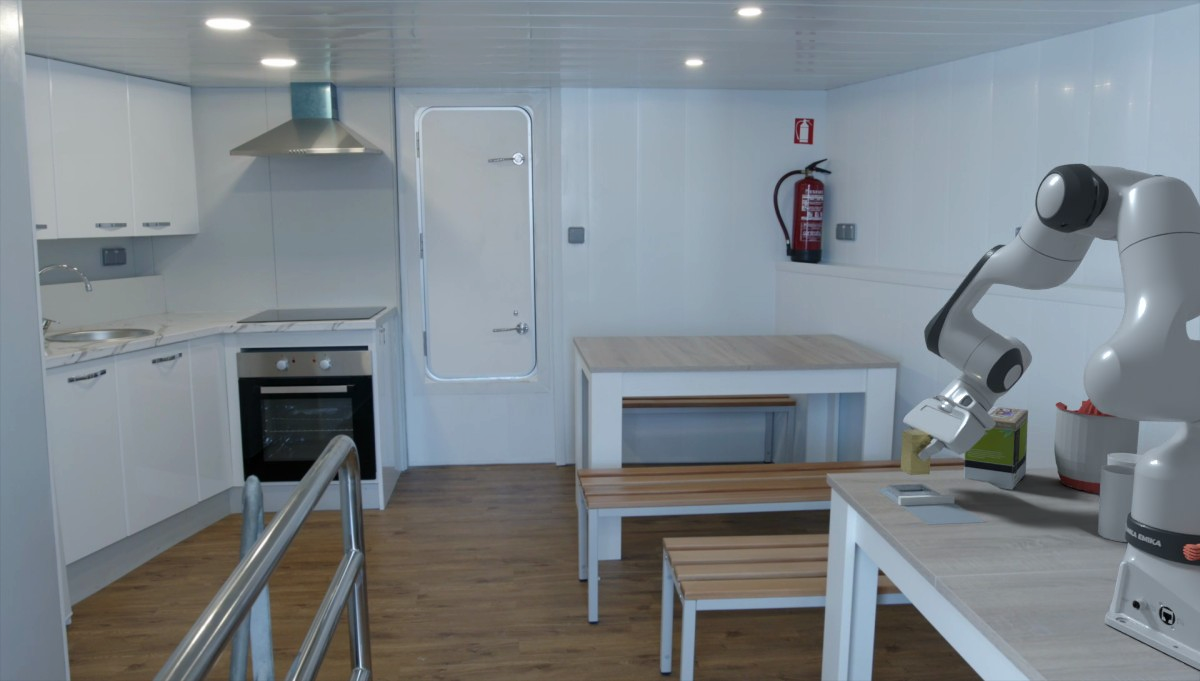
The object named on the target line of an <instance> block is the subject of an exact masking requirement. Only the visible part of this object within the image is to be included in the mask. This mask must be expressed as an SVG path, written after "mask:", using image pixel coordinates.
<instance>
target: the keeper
mask: <svg viewBox="0 0 1200 681" xmlns="http://www.w3.org/2000/svg"><path fill="white" fill-rule="evenodd" d="M886 488H887V491H888V492H889V493H891V494H892V495H894V496H895V497H897V498H898V496H918V495H905V494H903V493H902V492H900V491H918V490H921V491H923V492H925V493H926V494H928V495H942V493H940V492H938V491H936V490H934V489H933V488H931V487H929V486H927V485H926V484H924V483H910V484H909V483H907V484H905V483H904V484H886Z"/></svg>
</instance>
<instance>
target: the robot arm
mask: <svg viewBox="0 0 1200 681" xmlns="http://www.w3.org/2000/svg"><path fill="white" fill-rule="evenodd" d="M1034 201H1035V204H1034V207H1033V208H1032V210H1031V211H1030V212H1029V214H1028V215H1027V217H1026V219H1025V220H1024V222H1023V224H1022V226H1021V227H1020V229H1019V231H1018V233H1017V235H1016V236H1015V237H1014V238H1013V239H1012V240H1011V241H1010V242H1009V243H1007V244H998V245H997V244H996V246H994V247H992V248H991V249H989V250H988V251H987V252H985V253H984V255H982V256H981V258H980V259H979V260H978V261H977V262H976V263H975V265H974V266H973V267H972V269H971V270H969V272H968V274H967V275H966V276H965V278H964V279H963V280H962V281H961V282H960V284H959V285H958V287H957V288H955V291H954V292H953V294H952V295H951V296H950V298H949V299H948V300H947V301H946V303H945V304H944V305H943V306H942V307H941V308H940V309H939V310H938V312H937V313H936V314H935V315H934V316H933V317H932V318H931V319H930V320H929V321H928V323H927V324H926V326H925V329H924V332H923V334H924V336H923V337H924V342H925V345H926V346H925V347H926V348H927V350H928V351H929V352H931V353H932V354H934V355H936V356H937V357H940V358H941V359H943V360H945V361H947V362H949V364H950V365H952V366H954V367H955V368H956V369H958V370H959V371H961V372H962V373H961V374H960V375H958V376H956V377H955V378H954V379H953V380H952V381H950V383H949V384H947V386H946V387H945V388H944V389H943V390H942V391H941V392H940V393H939V394H938V395H936V396H934V397H931V398H926V399H924V400H922V401H920V403H918V404H917V405H916V406H914V408H913V409H911V410H910V411H909V412H907V414H906V415H905V416H904V418H903V420H902V424H903V425H904V426H905V427H906V428H907V430H921V431H923V432H925V433H927V434H930V436H931V442H930V443H931V444H929V445H928V446H926V447H925V448H920V449H919V451H918V452H917V453H916V456H917V457H918V458H919V459H921V460H923V461H926V460H927V459H928V458H929V457H930V458H931V456H933V455H935V454H937V453H940V452H942V450H943V449H944V448H945V449H947V450H948V451H951V452H953V453H955V454H957V455H959V456H960V455H962V454H963V455H964V454H965V452H967V451H968V450H970V449H971V448H972V447H973V446H974V445H975V444H976V443H977V442H978V441H979V440H980V439H981V438H982V437H983V436H984V434H985V432H986V430H991V429H992V428H993V427H994V426H995V425H996V422H995V421H994V420H993V418H992V417H991V416H990V415H989V414H988V411H989V410H990V409H991V408H992V407H994V405H995V403H996V401H997V400H999V399H1000V398H1001V397H1004V395H1006V394H1007V393H1009V391H1010V390H1011V389H1012V388H1013V387H1014V386H1015V385H1016V383H1018V381H1019V380H1020V379H1021V378H1022V376H1023V375H1024V373H1025V372H1026V371H1027V370H1028V368H1029V367H1030V365H1031V364H1032V362H1033V356H1032V352H1031V351H1030V350H1029V348H1028V346H1027V345H1026V344H1025V343H1024V342H1022V341H1021V340H1020V339H1019V338H1017V337H1015V336H1012V335H1008V334H1005V335H1001V334H1000V333H997V332H996V331H994V330H993V329H991V328H990V327H989V326H987V325H985V324H984V323H983V322H982V321H979V320H978V319H977V318H976V317H975V316H974V313H973V309H974V308H976V306H977V305H978V303H979V302H980V300H982V298H983V297H984V296H985V295H986V293H987V292H988V290H990V288H991V287H992V285H994V284H995V285H1004V286H1005V285H1006V286H1011V287H1015V288H1019V289H1024V290H1031V291H1040V290H1049V289H1053V288H1057V287H1059V286H1062V285H1063V284H1064V283H1066V282H1067V281H1069V280H1070V279H1071V277H1072V276H1073V275H1074V273H1076V272H1077V269H1078V268H1079V266H1080V265H1081V264H1082V262H1083V260H1084V258H1085V257H1086V255H1087V252H1088V251H1089V249H1090V247H1091V245H1092V243H1093V242H1094V240H1095V238H1096V239H1100V240H1103V241H1111V242H1112V241H1113V242H1116V244H1117V251H1118V256H1119V262H1120V269H1121V274H1122V281H1123V282H1122V283H1123V290H1124V311H1123V314H1122V315H1123V316H1122V319H1121V321H1120V324H1119V325H1118V326H1119V327H1118V328H1117V330H1116V331H1115V333H1113V335H1112V336H1111V337H1110V338H1109V339H1108V340H1107V341H1106V342H1104V343H1103V344H1101V345H1100V346H1099V347H1098V348H1096V349H1095V351H1094V352H1093V353H1092V354H1091V355H1090V357H1089V359H1087V361H1086V364H1085V366H1084V367H1085V368H1084V369H1083V370H1084V371H1083V386H1084V390H1085V393H1086V396H1087V397H1088V399H1090V401H1091V403H1092V404H1093V405H1094V406H1095V407H1096V408H1097V409H1098V410H1099V411H1100V412H1101V413H1104V414H1108V415H1112V416H1116V417H1121V418H1126V419H1131V420H1136V421H1139V422H1158V423H1160V422H1161V423H1162V422H1164V423H1166V422H1167V423H1180V424H1179V426H1178V428H1177V430H1176V431H1175V433H1173V435H1172V436H1171V437H1170V438H1169V439H1168V440H1167V441H1165V442H1164V443H1161V444H1160V445H1158V446H1155V447H1153V448H1151V449H1149V450H1147V451H1145V452H1144V453H1143V454H1141V455H1142V456H1141V457H1140V459H1139V460H1138V462H1137V464H1136V466H1135V471H1134V484H1133V496H1132V508H1131V512H1130V513H1129V514H1128V516H1127V523H1126V524H1125V529H1126V533H1125V539H1126V540H1127V542H1126V543H1127V547H1126V551H1125V553H1124V555H1123V558H1122V560H1121V562H1120V565H1119V568H1118V573H1117V578H1116V582H1115V587H1114V592H1113V597H1112V600H1111V603H1110V606H1109V610H1108V611H1107V612H1106V614H1105V617H1104V623H1105V624H1106V625H1108V626H1110V627H1112V628H1114V629H1116V630H1118V631H1120V632H1122V633H1124V634H1126V635H1128V636H1130V637H1132V638H1134V639H1136V640H1138V641H1140V642H1142V643H1144V644H1146V645H1149V646H1150V647H1152V648H1154V649H1157V650H1158V651H1160V652H1162V653H1165V654H1167V655H1168V656H1171V657H1172V658H1174V659H1177V660H1178V661H1181V662H1183V663H1185V664H1187V665H1189V666H1191V667H1193V668H1195V669H1197V670H1199V671H1200V339H1191V338H1190V337H1189V334H1188V332H1187V331H1188V330H1187V322H1190V321H1192V320H1194V319H1196V318H1198V317H1199V316H1200V203H1199V201H1198V198H1197V197H1196V195H1195V194H1194V192H1193V189H1192V188H1191V186H1190V185H1189V184H1188V183H1186V182H1185V181H1184V180H1182V179H1180V178H1177V177H1173V176H1166V175H1164V174H1163V175H1162V174H1150V173H1147V172H1142V171H1139V170H1131V169H1128V168H1125V167H1119V166H1109V165H1086V164H1084V163H1068V164H1062V165H1059V166H1055V167H1053V168H1052V169H1050V171H1049V172H1048V173H1047V174H1046V175H1045V176H1044V177H1043V178H1042V180H1041V182H1040V183H1039V185H1038V188H1037V191H1036V195H1035V200H1034Z"/></svg>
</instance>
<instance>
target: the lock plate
mask: <svg viewBox="0 0 1200 681" xmlns="http://www.w3.org/2000/svg"><path fill="white" fill-rule="evenodd" d="M875 490H876V491H878V492H879V493H880V494H883V495H884V496H885V497H887V498H888V499H890V500H892V501H893V502H894V503H896V504H897V505H899V506H900V507H902V508H903V509H904V510H906V511H908V512H909V513H910V514H912V515H913V516H915V517H916V518H918V519H920V520H921V521H923V522H924V523H926V524H927V525H931V526H932V525H949V524H950V525H951V524H953V525H954V524H973V523H974V524H976V523H977V524H978V523H987V521H985V520H984V519H982V518H980V517H979V516H977V515H975V514H973V513H972V512H970V511H969V510H966V509H965V508H963V507H962V506H960V505H958V504H956V503H955V496H956V495H954V494H952V493H948V494H947V493H945V494H941V495H928V494H926V493H925V492H923V491H921V490H918V491H900V492H902V493H903V494H905V495H918V496H898V498H897V497H895V496H894V495H892V494H891V493H889V492H888V491H887V487H884V488H875Z"/></svg>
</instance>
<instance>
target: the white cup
mask: <svg viewBox="0 0 1200 681" xmlns="http://www.w3.org/2000/svg"><path fill="white" fill-rule="evenodd" d="M1142 455H1143V454H1138V453H1137V454H1130V453H1111V454H1108V456H1107V465H1121V466H1129V467H1134V468H1135V466H1136V464H1137V462H1138V460H1139V459H1140V457H1141V456H1142Z"/></svg>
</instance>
